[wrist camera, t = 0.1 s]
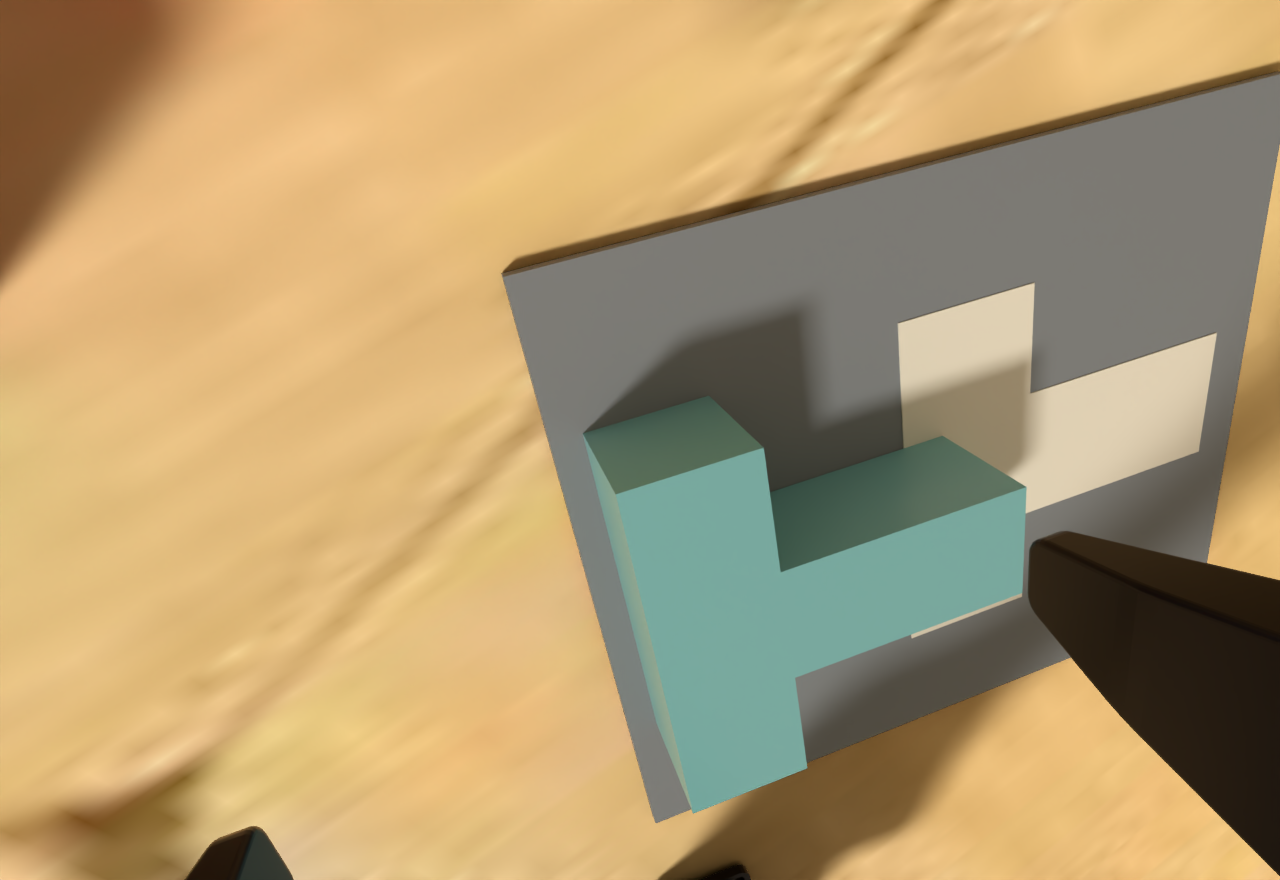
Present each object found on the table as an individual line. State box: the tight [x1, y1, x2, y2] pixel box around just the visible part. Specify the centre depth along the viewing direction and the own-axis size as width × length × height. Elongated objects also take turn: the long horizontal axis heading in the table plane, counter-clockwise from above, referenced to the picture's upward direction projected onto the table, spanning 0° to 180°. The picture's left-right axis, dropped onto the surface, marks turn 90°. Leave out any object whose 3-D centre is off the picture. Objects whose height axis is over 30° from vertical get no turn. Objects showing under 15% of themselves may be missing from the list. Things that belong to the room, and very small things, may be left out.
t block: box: [583, 396, 1027, 813], centre depth 24 cm, size 12×12×4 cm
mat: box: [501, 72, 1280, 823], centre depth 27 cm, size 22×26×1 cm
